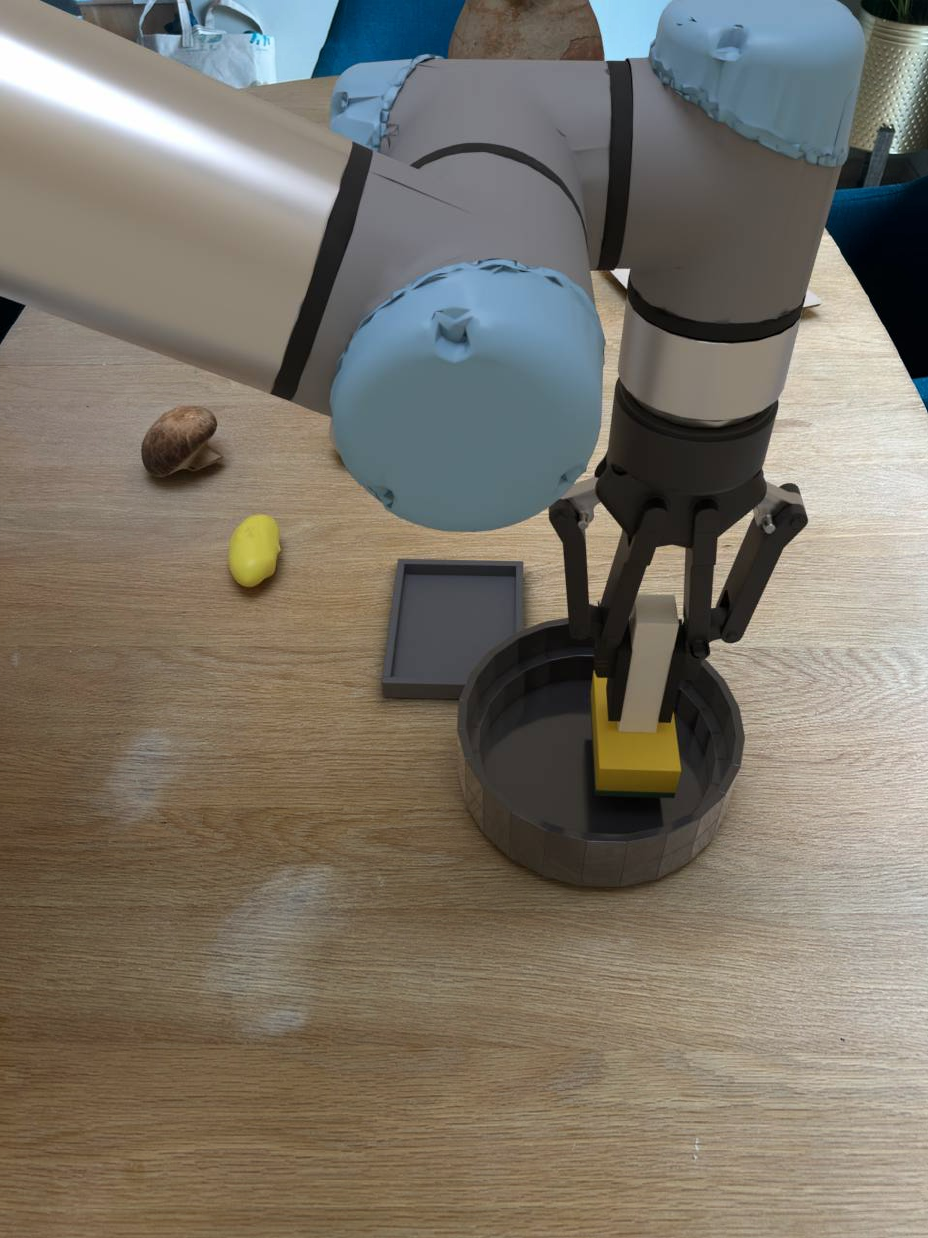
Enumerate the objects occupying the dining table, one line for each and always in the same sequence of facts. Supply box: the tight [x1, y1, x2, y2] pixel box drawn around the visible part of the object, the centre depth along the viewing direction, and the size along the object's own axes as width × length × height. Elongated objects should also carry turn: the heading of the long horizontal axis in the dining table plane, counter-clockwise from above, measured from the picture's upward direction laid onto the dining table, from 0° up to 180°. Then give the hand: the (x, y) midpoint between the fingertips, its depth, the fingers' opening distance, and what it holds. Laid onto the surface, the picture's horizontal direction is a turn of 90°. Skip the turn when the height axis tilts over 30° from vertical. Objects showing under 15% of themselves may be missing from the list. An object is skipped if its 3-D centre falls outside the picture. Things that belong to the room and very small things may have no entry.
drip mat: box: [381, 558, 524, 700], centre depth 77 cm, size 13×10×2 cm
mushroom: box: [140, 405, 224, 478], centre depth 91 cm, size 8×8×6 cm
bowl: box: [456, 617, 746, 888], centre depth 66 cm, size 18×18×6 cm
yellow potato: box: [227, 514, 282, 588], centre depth 82 cm, size 4×8×4 cm, turn 175°
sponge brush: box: [590, 593, 681, 798], centre depth 61 cm, size 8×5×13 cm, turn 177°
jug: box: [447, 0, 606, 61], centre depth 135 cm, size 22×22×30 cm
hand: (638, 704), depth 63 cm, fingers closed on sponge brush, 2 cm apart
